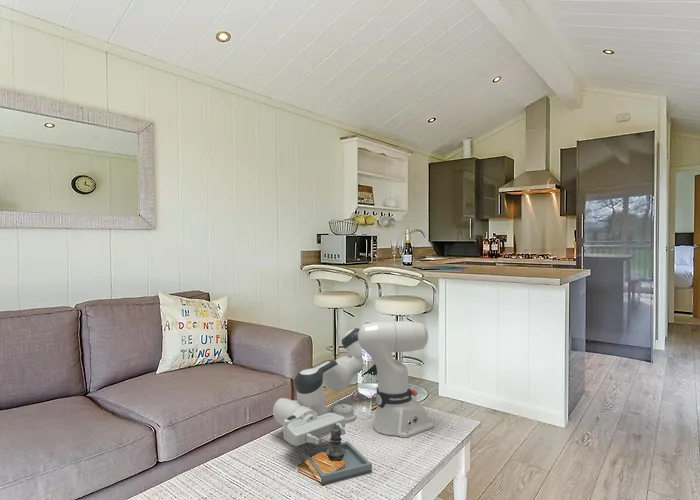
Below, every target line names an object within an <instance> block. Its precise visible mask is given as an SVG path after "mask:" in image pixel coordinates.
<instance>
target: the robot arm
mask: <svg viewBox="0 0 700 500" xmlns="http://www.w3.org/2000/svg"><path fill="white" fill-rule="evenodd" d="M428 342H429V333H428V330H427V328H426V325H424V324H423V323H422V322H418V321H417V322H416V321H410V320H402V321H401V320H399V321H396V320H392V321H372V322H371V321H370V322H367V323H363V324H362V325H361V326H360V327H358V328H357V327H356V328H353V329H350V330H348V331H346V333H344V336H343V337H342V338H341V345H342V347H343V349H345V350H346V352H347V354H348V355H343V356H340V357H338V358H336V359H328V360H323V361H321V362H319V363H317V364H314V365H313V366H311V367H309V368H305V369H302V370H300V371H299V372H298V373H297V374H296V375H295V377H294V379H293V381H294V382H293V383H294V386H295V387H294V388H295V392H296V398H297V400H296V399H294V400H292V399H290V398H287V397H286V398H285V397H281V398H279V399H277V400H276V401H275V403H274V404H273V408H272V414H273V418H274V420H275V421H276V422H277V423H278V424H279V425H281V426H283V427H282V428H283V429H282V433H283V435H282V436H283V440H284V441H286V442H288V443H289V444H290V445H292V446H295V447H298V446H302V445H305V444H307V443H308V444H315V445H317V446H318V445H320V444H322V443H323V442H322V440H323V439H322V438H323V437H325V436H328V435H331V429H332V428H333V427H335V424H336V425H337V427H339V428H340V436H344V435H346V423H345V417H343V416H341V415H338V414H335V413H332V412H327V406H326V397H325V390H324V386H325V388H327V390H329V391H332V392H335V393H336V392H337V393H338V392H342V391H344V390H345V389H347V388H348V387H349V385H350V384H351V383H352V381H353V379H354V378H355V376H357V374H359V373H360V371H361V370H362V368H363V367H364V364H363V359H362V351H361V348H362V349H363V350H365V351H366V352H367V353H368V354H369V355H370V356H371V357H372V358H373V360H374V362H375V363H374V365H373V366H372V367H371V368H370V369H369V370H368V371H367V372H365V373H364V374H363V375H365V374H367V373H369V374H371V375H374V376H373V377H376V376H377V387H376V391H375V392H376V396H375V397H376V411H375V418H374V421H373V425H372V428H373V429H374V430H375V432H378V433H380V434H383V435H388V436H398V437H401V438H409V437H411V436H414V435H417V434H420V433H423V432H425V431H428V430H430V429H434V427H435V426H434V425H435V424H434V423H433V420H432V419H430V418H428V412H427V411H426V409H425V407H424V406H423V405H422V404H420V403H419V402H418V401H416V400H415V398H416V397H417V395H418V394H419V393H418V391H417V390H415V389H412V388H409V371H408V367H407V366H406V364H404V363H403V362H402V361H399V360H398V359H396V358H394V357H393V353H408V352H409V353H410V352H415V351H420V350H423V349H424V348H426V346H427V344H428ZM372 372H373V374H372ZM360 374H361V373H360ZM363 375H362V376H361V377H364V376H363ZM375 375H376V376H375ZM413 397H415V398H413Z"/></svg>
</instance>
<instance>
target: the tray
mask: <svg viewBox="0 0 700 500" xmlns="http://www.w3.org/2000/svg"><path fill="white" fill-rule="evenodd" d="M330 447H331V444H330V445H326V446H322V447H317V448H313V449H309V450H304V451H301V455H302V456H301V460H302V461H303V462H304V461H306V460H309V462H310V463H311V464H312V466H313V467H314V468H315V470H316V471H317V473H318V474H319V476H320V478H321V484H322V485H321V484H320V485H321V486H324V485H328V484H331V483H332V484H333V483H336V482H340V481H343V480H348V479H351V478H355V477H359V476H362V475H365V474H366V475H367V474H371V473H373V470H372V469H373V465H372V463H371V461H369V460H368V459H367V458H366V457H365V456H364V455H363V454H362V453H361V452H360V451H359V450H358V449H357V448H355V446H354V445H352V443H351V442H349V441H344V442H341V448H343V449H344V450H345V454H344V457H343V459H342V460H344V461H345V462H346V466H345V468H344V469H342V470H338V471H334V472H330V473H326V474H323V472H322V471H321V470H320V469H319V468H318V466H317V465H316V464H315V463H314V461H313V460H312V459H311V458H310V457H312V456H314V455H316V454H317V453H320V452H325V453H326V450H327V449H329V448H330Z"/></svg>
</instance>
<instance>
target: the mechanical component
mask: <svg viewBox="0 0 700 500" xmlns="http://www.w3.org/2000/svg"><path fill="white" fill-rule="evenodd" d="M332 410H333V411H332V412H331V413H335V414H338V415H341V416H343V417H345V424H347V423H351V422H354V421H355V420H356V419H357V413H356V412H355V411H354V407H353V406H352V405H349V404H348V403H341V404H339V403H338V404H336V405H334V406H333V409H332Z"/></svg>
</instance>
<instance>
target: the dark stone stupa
mask: <svg viewBox="0 0 700 500" xmlns="http://www.w3.org/2000/svg"><path fill="white" fill-rule="evenodd" d="M329 440H330V445H331V447H330V448H329V449H327V450H326V453H327V456H328V458H329V460H331V461H341V460H342V459H343V457H344V454H345V450H344V449H343V448H341V443H342V440H343V438H342V437H341V435H340V428H339V427H337V425H336V424H335V427H333V428H332V429H331V434H330V438H329Z"/></svg>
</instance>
